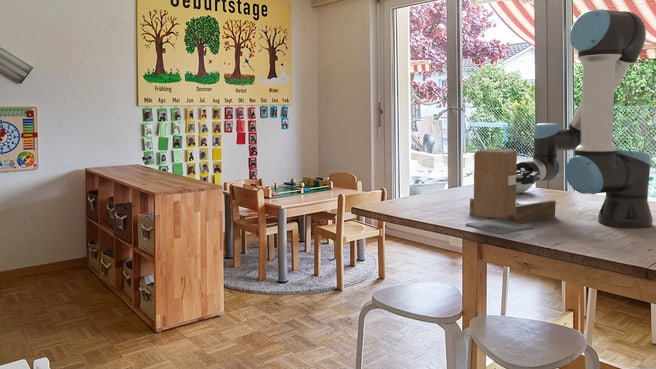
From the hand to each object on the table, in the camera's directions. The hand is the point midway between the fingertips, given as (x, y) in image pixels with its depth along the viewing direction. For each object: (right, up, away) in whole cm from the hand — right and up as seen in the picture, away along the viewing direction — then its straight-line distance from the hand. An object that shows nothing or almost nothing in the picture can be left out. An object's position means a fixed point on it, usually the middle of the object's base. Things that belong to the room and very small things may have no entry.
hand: (491, 178), depth 166 cm
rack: (+14, -12, +22) cm, 28 cm away
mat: (+3, -15, +4) cm, 16 cm away
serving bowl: (+28, -6, +70) cm, 76 cm away
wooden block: (+2, -11, +3) cm, 12 cm away
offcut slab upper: (+20, -10, +24) cm, 33 cm away
